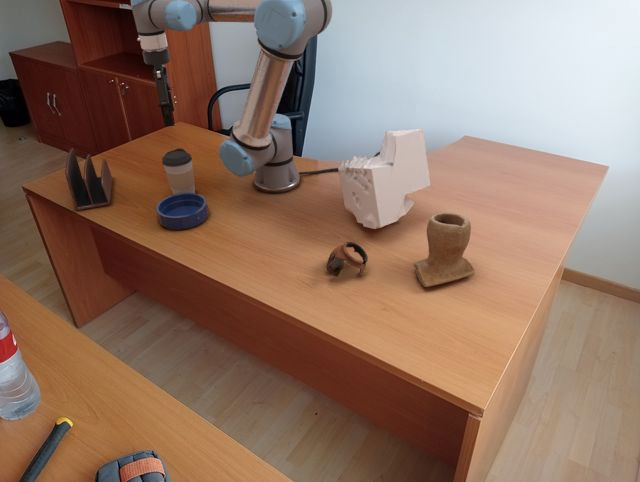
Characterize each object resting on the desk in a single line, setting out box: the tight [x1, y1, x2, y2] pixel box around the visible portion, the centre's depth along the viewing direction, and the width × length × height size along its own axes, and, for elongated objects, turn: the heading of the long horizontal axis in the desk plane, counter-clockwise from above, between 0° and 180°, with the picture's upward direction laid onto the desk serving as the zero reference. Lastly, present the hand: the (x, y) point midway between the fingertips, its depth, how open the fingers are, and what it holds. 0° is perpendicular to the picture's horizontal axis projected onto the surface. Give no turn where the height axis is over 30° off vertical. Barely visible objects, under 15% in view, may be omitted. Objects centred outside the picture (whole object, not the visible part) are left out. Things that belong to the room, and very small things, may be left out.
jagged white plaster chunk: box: [337, 128, 431, 230], centre depth 137 cm, size 20×16×25 cm
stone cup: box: [413, 212, 475, 288], centre depth 117 cm, size 15×12×15 cm
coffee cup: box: [161, 147, 196, 195], centre depth 154 cm, size 9×9×15 cm
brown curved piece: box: [325, 241, 369, 277], centre depth 121 cm, size 12×10×8 cm
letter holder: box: [64, 147, 113, 211], centre depth 157 cm, size 10×20×14 cm, turn 17°
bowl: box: [155, 192, 210, 231], centre depth 145 cm, size 15×15×4 cm
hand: (170, 118), depth 155 cm, fingers open, 13 cm apart
